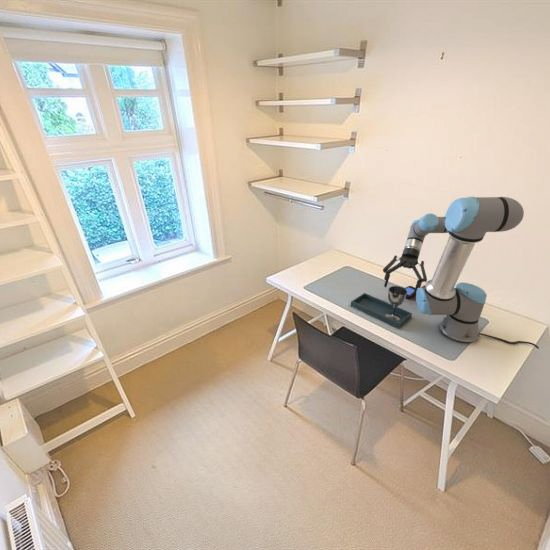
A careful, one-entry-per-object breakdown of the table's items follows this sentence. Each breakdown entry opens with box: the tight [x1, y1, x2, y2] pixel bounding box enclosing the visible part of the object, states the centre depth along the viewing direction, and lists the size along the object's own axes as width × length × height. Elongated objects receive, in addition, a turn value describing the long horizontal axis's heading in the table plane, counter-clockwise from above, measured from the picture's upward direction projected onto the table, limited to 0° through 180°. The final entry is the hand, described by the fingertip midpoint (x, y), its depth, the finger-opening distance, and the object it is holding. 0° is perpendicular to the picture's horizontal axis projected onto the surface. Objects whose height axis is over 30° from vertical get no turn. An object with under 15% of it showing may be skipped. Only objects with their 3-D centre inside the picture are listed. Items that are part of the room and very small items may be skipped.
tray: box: [350, 292, 413, 329], centre depth 156 cm, size 27×12×3 cm, turn 42°
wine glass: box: [385, 285, 407, 321], centre depth 148 cm, size 8×8×15 cm
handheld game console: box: [403, 284, 426, 300], centre depth 169 cm, size 12×11×7 cm
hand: (399, 290), depth 149 cm, fingers open, 13 cm apart
